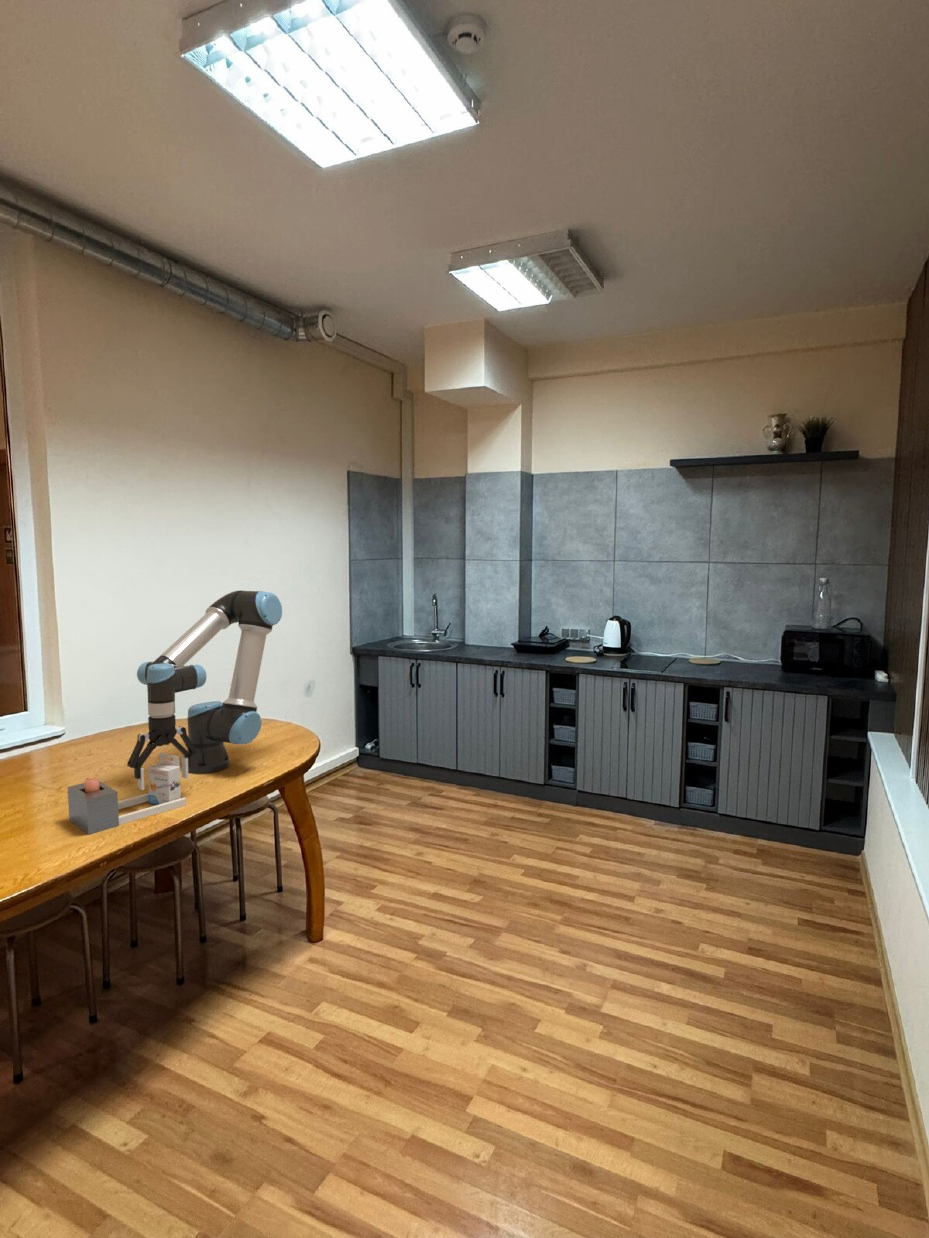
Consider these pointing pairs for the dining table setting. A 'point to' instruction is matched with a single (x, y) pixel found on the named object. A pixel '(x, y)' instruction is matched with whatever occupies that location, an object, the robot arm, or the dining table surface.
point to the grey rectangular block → (93, 808)
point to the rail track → (146, 811)
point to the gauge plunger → (91, 785)
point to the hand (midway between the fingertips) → (163, 783)
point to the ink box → (164, 780)
